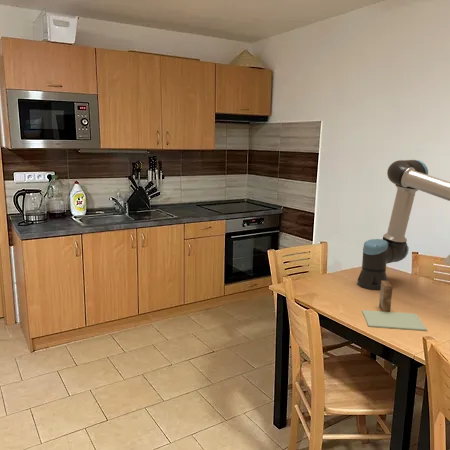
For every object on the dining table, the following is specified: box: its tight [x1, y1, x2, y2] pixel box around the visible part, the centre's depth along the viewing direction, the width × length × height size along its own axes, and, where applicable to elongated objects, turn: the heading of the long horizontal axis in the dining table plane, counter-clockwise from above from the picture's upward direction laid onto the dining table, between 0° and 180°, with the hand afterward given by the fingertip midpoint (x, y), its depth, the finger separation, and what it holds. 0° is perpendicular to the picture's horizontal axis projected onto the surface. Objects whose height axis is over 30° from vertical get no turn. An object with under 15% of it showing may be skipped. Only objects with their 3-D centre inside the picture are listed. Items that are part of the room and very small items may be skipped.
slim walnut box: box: [378, 280, 393, 312], centre depth 185 cm, size 3×8×12 cm, turn 171°
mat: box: [361, 309, 428, 332], centre depth 174 cm, size 22×16×1 cm
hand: (449, 264), depth 185 cm, fingers open, 13 cm apart
